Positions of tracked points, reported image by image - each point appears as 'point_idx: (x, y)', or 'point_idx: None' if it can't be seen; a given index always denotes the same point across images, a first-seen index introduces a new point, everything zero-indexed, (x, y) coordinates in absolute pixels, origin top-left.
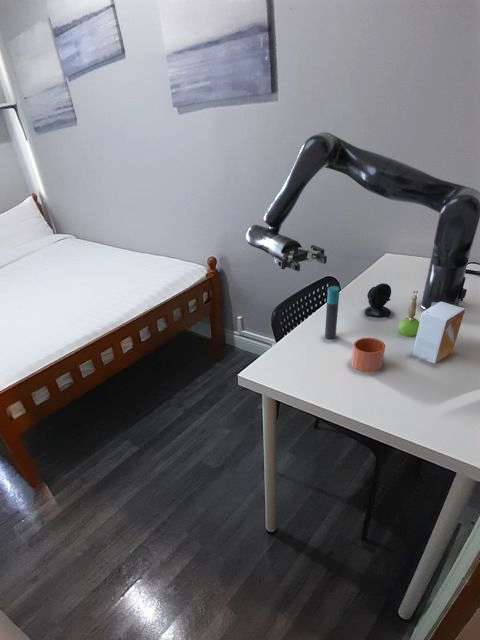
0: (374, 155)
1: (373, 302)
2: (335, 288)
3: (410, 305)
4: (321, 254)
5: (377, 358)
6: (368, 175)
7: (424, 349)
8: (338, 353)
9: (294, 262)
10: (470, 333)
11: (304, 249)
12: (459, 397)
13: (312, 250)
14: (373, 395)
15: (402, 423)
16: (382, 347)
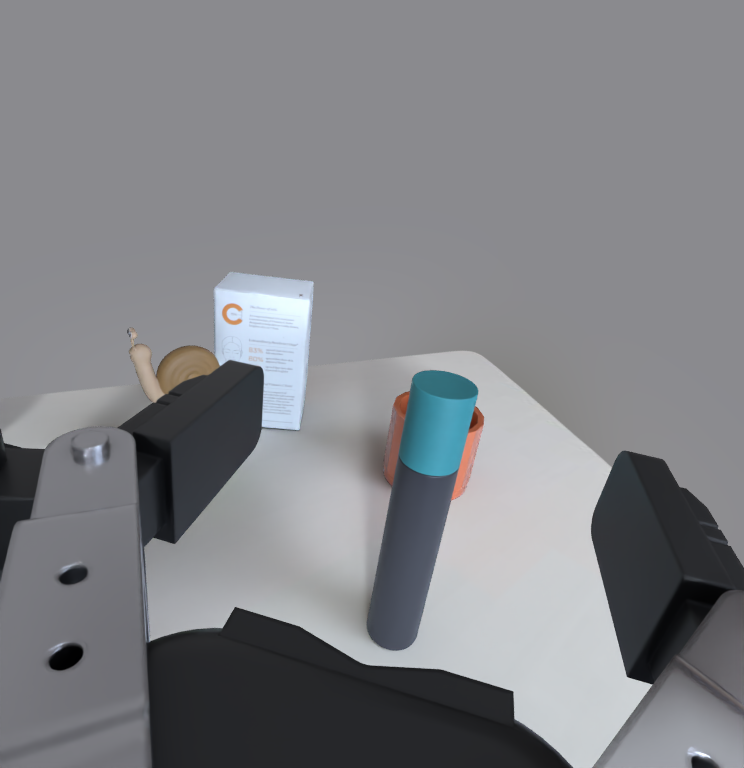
0: None
1: None
2: (439, 379)
3: (194, 360)
4: (194, 395)
5: None
6: None
7: (305, 385)
8: (442, 550)
9: (689, 510)
10: (100, 391)
11: (80, 686)
12: (369, 369)
13: (75, 514)
14: (493, 433)
15: (500, 393)
16: (406, 403)
